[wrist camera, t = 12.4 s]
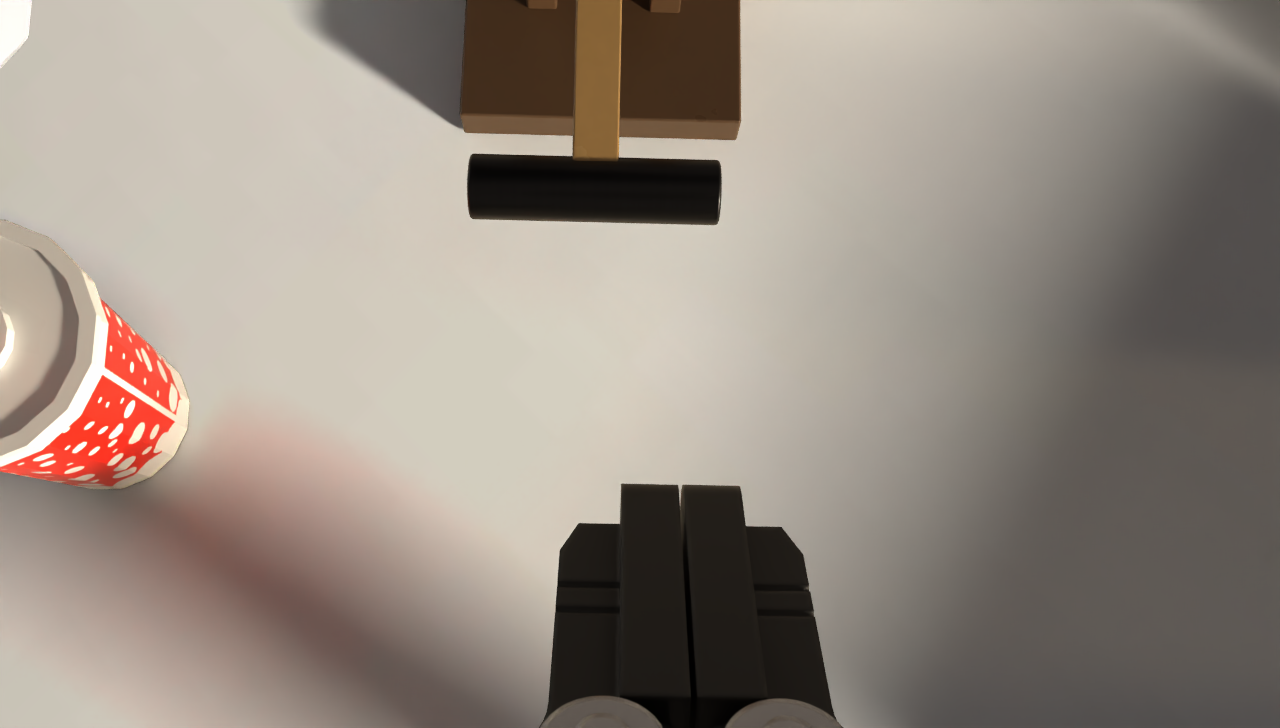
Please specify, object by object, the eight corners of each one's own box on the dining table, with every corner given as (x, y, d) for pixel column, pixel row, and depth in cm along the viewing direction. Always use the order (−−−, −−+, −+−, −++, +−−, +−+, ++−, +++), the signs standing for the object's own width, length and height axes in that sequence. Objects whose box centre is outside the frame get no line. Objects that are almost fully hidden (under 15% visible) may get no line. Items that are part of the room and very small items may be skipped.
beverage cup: (46, 304, 38) (-264, 103, 24) (237, 339, 38) (32, 157, 24) (-14, 495, 36) (-381, 394, 23) (184, 532, 36) (-66, 453, 23)
